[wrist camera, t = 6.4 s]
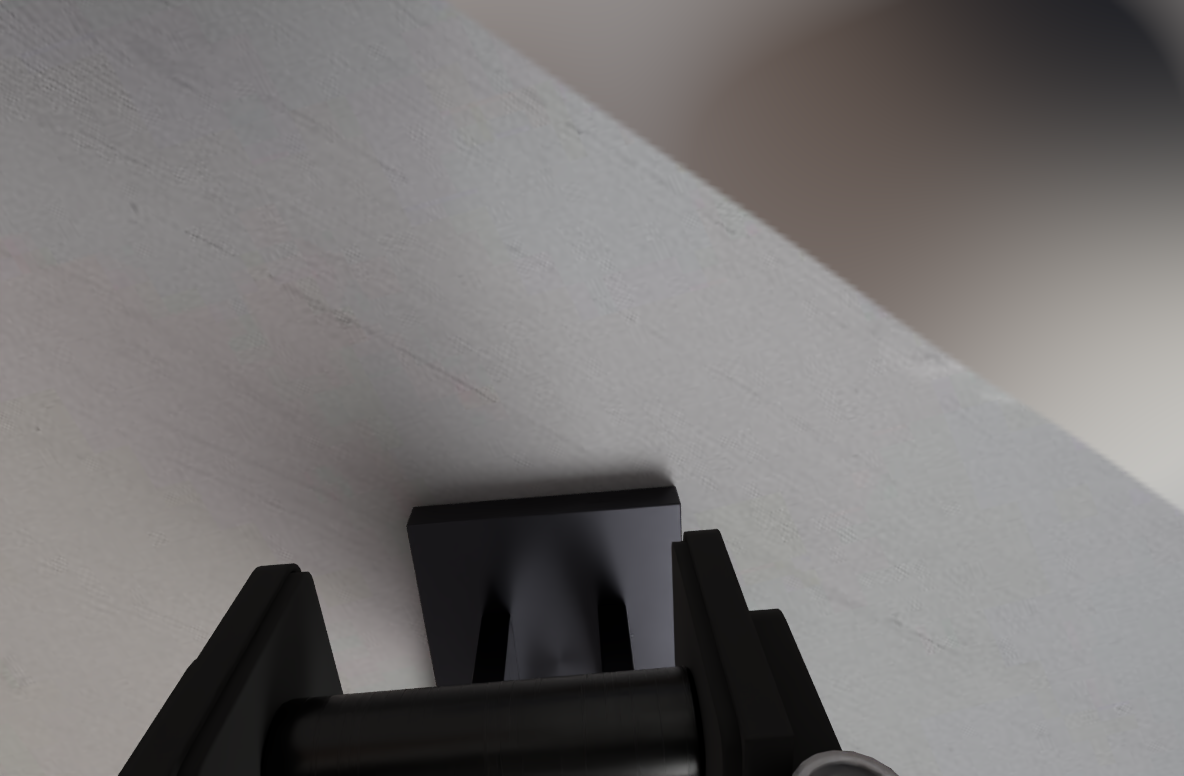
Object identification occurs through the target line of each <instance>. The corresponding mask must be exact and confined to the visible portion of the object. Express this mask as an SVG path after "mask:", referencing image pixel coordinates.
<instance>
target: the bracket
mask: <svg viewBox="0 0 1184 776" xmlns="http://www.w3.org/2000/svg"><path fill="white" fill-rule="evenodd" d="M406 527H407V532H408V538H409V543H410V548H411V553H412V559H413V564H414V569H415V575H416V580H417V585H418V590H419V596H420V601H421V606H422V612H423V617H424V622H425V627H426V633H427V638H428V643H429V648H430V654H431V659H432V664H433V670H434V675H435V680H436V685H437V687H438V686H450V685H461V684H473V683H485V682H497V681H509V680H521V679H533V678H545V677H557V676H569V675H581V674H593V673H605V672H617V671H628V670H640V669H652V668H664V667H675V652H674V618H673V584H672V551H671V546H672V542H677V541H682V531H681V503H680V500H679V496H678V493H677V490H676V487H675V486H670V487H658V488H645V489H633V490H620V491H608V492H595V493H583V494H571V495H558V496H546V497H533V498H521V499H508V500H496V501H484V502H471V503H459V504H446V505H434V506H421V507H413V509H412V512H411V515H410V517H409V520H408V523H407V526H406Z"/></svg>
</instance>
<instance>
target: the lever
mask: <svg viewBox="0 0 1184 776" xmlns="http://www.w3.org/2000/svg"><path fill="white" fill-rule="evenodd" d="M261 776H705V746H704V735H703V727H702V719H701V712H700V705H699V700H698V694H697V689H696V685H695V681H694V678H693V675H692V673H691V671H690V669H689V668H688V667H685V666H676V667H664V668H652V669H640V670H628V671H617V672H605V673H593V674H581V675H569V676H557V677H545V678H533V679H521V680H509V681H497V682H485V683H473V684H461V685H450V686H438V687H426V688H414V689H402V690H390V691H378V692H366V693H354V694H342V695H330V696H318V697H306V698H295V699H291V700H289V701H287V702H285V703H284V704H283V705H282V706H281V707H280V708H279V709H278V711H277V712H276V714H275V716H274V718H273V720H272V722H271V725H270V727H269V730H268V734H267V737H266V741H265V746H264V752H263V759H262V771H261Z"/></svg>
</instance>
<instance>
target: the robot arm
mask: <svg viewBox="0 0 1184 776" xmlns="http://www.w3.org/2000/svg"><path fill="white" fill-rule="evenodd" d="M671 551H672V584H673V618H674V652H675V667H676V666H685V667H688V668H689V669H690V671H691V673H692V675H693V678H694V681H695V685H696V689H697V694H698V700H699V705H700V712H701V719H702V727H703V735H704V746H705V776H898V775H897V774H896V773H895V772H894V771H893V770H892V769H891V768H889V767H887V766H886V765H884V764H882V763H880V762H879V761H877V760H875V759H874V758H872V757H868V756H865V755H862V754H859V753H856V752H853V751H842V749H841V747H840V744H839V742H838V740H837V737H836V735H835V733H834V731H833V728H832V726H831V724H830V721H829V719H828V717H827V714H826V712H825V710H824V707H823V705H822V703H821V700H820V698H819V696H818V693H817V691H816V689H815V686H814V684H813V682H812V679H811V677H810V675H809V672H808V670H807V668H806V665H805V663H804V661H803V658H802V656H801V654H800V651H799V649H798V647H797V644H796V642H795V640H794V638H793V635H792V633H791V631H790V628H789V626H788V624H787V621H786V619H785V617H784V615H783V613H782V612H781V611H780V610H779V609H768V610H756V611H749V610H748V607H747V604H746V602H745V599H744V596H743V593H742V591H741V588H740V585H739V582H738V580H737V577H736V574H735V572H734V569H733V566H732V563H731V561H730V558H729V555H728V552H727V550H726V547H725V544H724V541H723V539H722V536H721V533H720V531H719V530H718V529H712V530H699V531H687V532H684V535H683V541H677V542H672V546H671ZM342 694H343V691H342V688H341V684H340V680H339V676H338V672H337V669H336V665H335V661H334V657H333V653H332V650H331V646H330V642H329V638H328V634H327V631H326V627H325V623H324V619H323V615H322V612H321V608H320V604H319V600H318V596H317V593H316V589H315V585H314V581H313V578H312V575H311V574H310V573H309V572H301V570H300V568H299V566H298V565H297V564H294V563H292V564H280V565H268V566H259V567H257V568H256V569H255V570H254V571H253V572H252V574H251V575H250V577H249V578H248V580H247V582H246V583H245V585H244V586H243V588H242V589H241V591H240V592H239V594H238V596H237V597H236V599H235V600H234V602H233V603H232V605H231V606H230V608H229V610H228V611H227V613H226V614H225V616H224V617H223V619H222V620H221V622H220V624H219V625H218V627H217V628H216V630H215V631H214V633H213V634H212V636H211V638H210V639H209V641H208V642H207V644H206V645H205V647H204V648H203V650H202V652H201V653H200V655H199V656H198V658H197V659H196V660H194V661H193V663H192V664H191V665H190V666H189V667H188V668H187V670H186V672H185V673H184V675H183V676H182V678H181V679H180V681H179V682H178V684H177V685H176V687H175V688H174V690H173V692H172V693H171V695H170V696H169V698H168V699H167V701H166V702H165V704H164V705H163V707H162V709H161V710H160V712H159V713H158V715H157V716H156V718H155V719H154V721H153V722H152V724H151V725H150V727H149V729H148V730H147V732H146V733H145V735H144V736H143V738H142V739H141V741H140V742H139V744H138V746H137V747H136V749H135V750H134V752H133V753H132V755H131V756H130V758H129V759H128V761H127V762H126V764H125V766H124V767H123V769H122V770H121V772H120V773H119V775H118V776H261V771H262V759H263V752H264V746H265V741H266V737H267V734H268V730H269V727H270V725H271V722H272V720H273V718H274V716H275V714H276V712H277V711H278V709H279V708H280V707H281V706H282V705H283V704H284V703H285V702H287V701H289V700H291V699H295V698H306V697H318V696H330V695H342Z"/></svg>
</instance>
